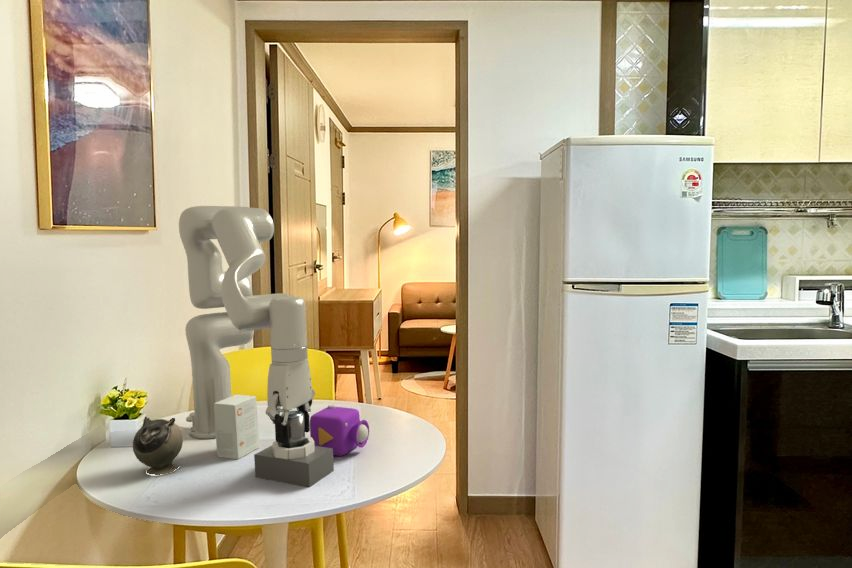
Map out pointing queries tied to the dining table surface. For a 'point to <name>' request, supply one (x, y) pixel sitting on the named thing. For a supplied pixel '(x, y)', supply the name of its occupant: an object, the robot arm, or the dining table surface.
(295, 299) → the robot arm
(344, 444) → the toy camera
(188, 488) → the dining table surface
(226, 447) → the small box
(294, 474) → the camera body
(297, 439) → the lens
